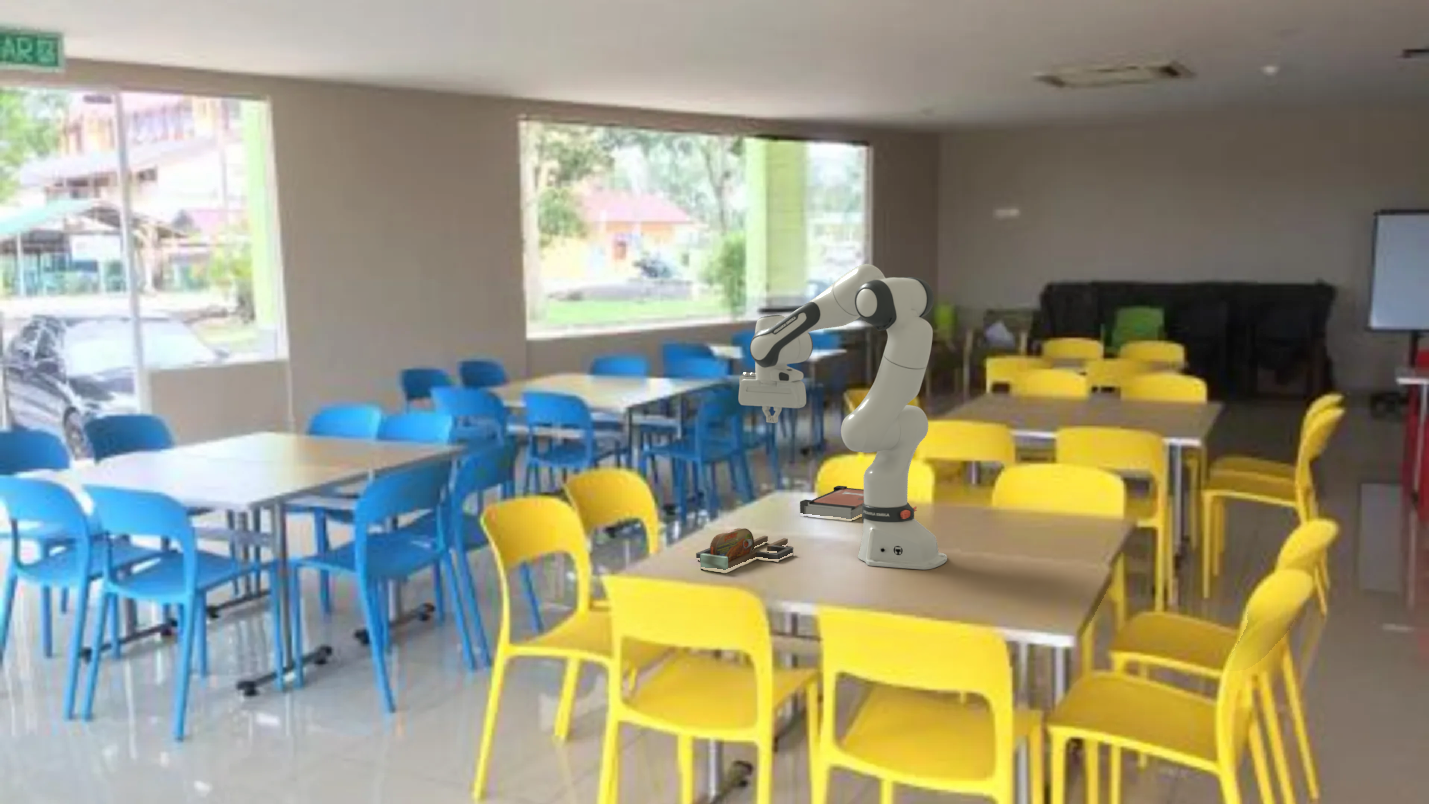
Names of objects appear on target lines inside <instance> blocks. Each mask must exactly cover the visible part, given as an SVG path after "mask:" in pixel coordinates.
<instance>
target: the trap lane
mask: <svg viewBox="0 0 1429 804" xmlns="http://www.w3.org/2000/svg"><path fill="white" fill-rule="evenodd" d="M767 541H768V542H769V536H768V535H762V536H759V537H758V538H756V539H755V538H754V547H755V546H757V545H760V544H762V543H763V542H767ZM787 543H788V544H789V539H788V538H785V537H784V538H781V539H779V540H777V541H774V542H772V543H768V545H767V544H766V551H759V550H753V552H751V553H749V554H746V555H744V556H742V557H739V558H737V559H735V560H733V561H730V562H728V557H725V556H718V555H710V547H708V548H705V549H703V550H701V551H698V552H695V557H696V558H700V561H699V562H700V568H701V567H705V568H717V569H723V570H726V569H728V568H731V567H733V566H735V565H738V564H740V563H742V562H746V561H747V560H749V559H753V558H755V557H763V558H768V559H780V558H782V557H784V556H787V555H788V554H790V553H793V554H794V547H792V546H791V547H790V546H787V547H784V546H782V545H786V544H787ZM767 551H777V553H769V552H767Z"/></svg>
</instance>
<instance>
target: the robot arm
mask: <svg viewBox="0 0 1429 804" xmlns="http://www.w3.org/2000/svg"><path fill="white" fill-rule="evenodd" d="M934 297H935V296H934V291H933V289H932V287H931V285H930V284H929V283H928V282H927V281H926V280H924V279H921V278H918V277H913V276H912V277H911V276H907V277H903V276H902V277H896V276H895V277H894V276H893V277H892V276H891V277H885V274H884V273H883V272H882V271H881V269H880V268H878V267H877V266H876V265H873V264H870V263H869V264H868V263H865V264H861V265H859V266H856V267H855V268H852V269H851V270H849V271H848V272H846V273H844V274H843V275H842V276H840V277H839V278H838V279H837V280H835V281H834V282H833V283H832V284H831V285H829V286H828V287H827V288H826V289H824V290H823V291H822V292H821V293H820V294H818V295H817V296H815V297H813V298H812V299H811V300H809V301H808V302H807V303H805V304H804V305H802V306H801V307H798V308H797V309H796V310H794V311H792V312H791V313H790V314H788V315H787V316H786V317H784V316H783V315H782V314H772V315H764V316H762V317H760V318H759V319H757V321H756V324H755V328H754V329H755V330H754V335H753V336H752V338H751V341H750V345H749V351H750V352H749V353H750V355H751V358H752V359H753V361H754V363H755V364H754V365H755V368H754V369H755V372H746V371H745V372H743V373H742V374H741V375H740V376H739V380H738V381H739V383H738V384H739V386H738V387H739V389H738V403H739V404H740V405H741V406H749V407H750V406H752V407H753V406H754V407H762V408H761V411H762V412H763V414H764V416H765V420H766V421H765V422H766V423H772V424H777V423H778V422H779V416H780V414H781V412H782V409H783V408H786V409H787V408H788V409H800V408H801V409H802V408H804V407H805V405H807V393H806V385H805V383H804V382H803V381H802V380H803V379H804V373H803V372H802V371H800V370H798V369H795V368H793V367H790V366H788V365H790V364H791V365H792V364H798V363H803V362H806V361H808V359H810V357H811V355H812V353H813V350H814V342H813V339H812V336H811V334H810V332H813V331H818V330H823V329H824V330H825V329H831V328H832V329H833V328H839V327H844V326H846V325H849V324H851V323H853V322H854V321H856V320H858V319H859V318H861V319H862V320H863V321H865V322H867V324H870V325H872V327H874V329H875V330H877V331H879V332H883V331H886V333H887V339H886V340H887V341H886V344H885V347H884V351H883V354H882V358H881V361H880V365H879V368H878V370H877V373H876V377H875V379H874V382H873V384H872V386H871V387H870V389H869V390H868V393H867V394H866V396H865V397H864V398H863V400H862V401H861V402H860V404H859V405H858V406H857V407H856V408H855V409H854V410H853V411H851V412H850V413H849V414H848V415H846V416H845V418H844V419H843V420H842V422H841V427H840V436H841V439H842V442H843V443H844V446H845V447H846V448H847V449H849V450H850V451H852V452H855V453H856V452H857V453H866V454H869V453H876V455H875V457H874V459H873V461H872V463H871V464H870V465H869V466H867V468H866V469H865V470H864V473H863V489H864V502H863V503H862V517H861V519H862V520H861V521H862V524H863V525H862V536H861V543H860V546H859V552H858V555H857V558H858V559H859V560H861V561H863V562H864V563H865V564H866V565H867V566H869V567H870V566H873V567H882V568H883V567H886V568H899V569H912V570H931V569H935V568H937V567H940V566H942V565H944V564H946V562H947V561H948V556H947V554H946V553H943V552H939V546H938V540H937V537H936V535H935V534H934V533H932V532H931V531H930V530H929V529H927V528H926V527H925V526H924V525H923V524H922V523H920V522H919V520H917V519H916V518H915V512H917V511H918V510H917V507H918V506H914V507H913V506H912V505H911V504H910V503H909V501H908V489H909V487H908V485H909V483H908V482H909V472H910V467H911V463H912V460H913V457H914V456H915V455H914V454H915V452H916V450H917V448H918V446H919V445H920V444H921V442H922V441H924V439H925V438H926V436H927V433H928V432H929V420H928V417H927V414H926V412H924V410H923V409H922V408H920V407H919V406H917V405H916V406H915V405H911V404H909V403H910V402H911V401H913V400H914V399H915V398H916V397H917V396H918V394H919V393H920V390H921V387H922V383H923V381H924V377H925V374H926V371H927V370H926V369H927V366H928V364H929V360H930V355H931V351H932V343H933V335H934V334H933V333H934V332H933V327H932V325H931V323H929V322H928V321H927V320H926V319H925V318H923V317H924V316H926V315H928V314H929V312H930V311H931V309H932V308H933V306H934V301H935V299H934ZM771 407H773V411H775V412H774V414H773V415H771V412H770V410H771Z"/></svg>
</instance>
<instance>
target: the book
mask: <svg viewBox="0 0 1429 804" xmlns="http://www.w3.org/2000/svg"><path fill="white" fill-rule="evenodd" d="M863 502H864V488H862V489H861V488H853V487H851V488H850V487H848V486H846V485H837V486H834V487H833V490H832V491H829V492H828V493H826V494H823V495H820V496H818V497H815V498H814V499H802V500H800V501H799V514H800V513H803V514H812V515H820V516H833V517H841V518H846V519H852V518H854V517H856V516H858V515H860V514H862V503H863Z"/></svg>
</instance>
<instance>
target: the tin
mask: <svg viewBox="0 0 1429 804" xmlns="http://www.w3.org/2000/svg"><path fill="white" fill-rule="evenodd" d="M754 540H755V538H754V535H753V533H752V532H751V530H749V528H742V527H741V528H740V527H738V528H734V529H731V530H728V531H725V532H722V533H719V534H716V535H715V536H714V537H713V538H712V540H711V542H710V545H709V548H710V555H718V556H725V557H728V562H730V561H733V560H735V559H737V558H739V557H742V556H744V555H746V554H749V553H751V552H753V551H754V550H755V549H754ZM753 549H754V550H753Z"/></svg>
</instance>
